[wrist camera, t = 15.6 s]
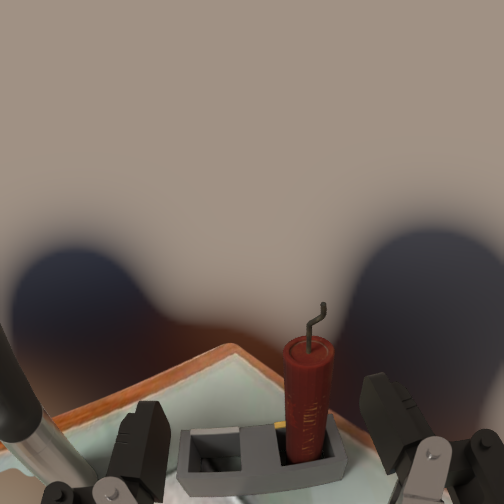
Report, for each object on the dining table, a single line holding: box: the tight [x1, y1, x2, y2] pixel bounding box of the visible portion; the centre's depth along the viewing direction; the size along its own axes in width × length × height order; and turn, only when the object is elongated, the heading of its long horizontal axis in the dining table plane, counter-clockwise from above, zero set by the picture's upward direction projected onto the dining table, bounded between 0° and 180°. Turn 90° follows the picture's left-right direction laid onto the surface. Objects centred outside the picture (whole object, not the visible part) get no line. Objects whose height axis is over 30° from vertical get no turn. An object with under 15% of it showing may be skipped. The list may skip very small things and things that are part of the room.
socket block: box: [176, 414, 348, 497], centre depth 35 cm, size 22×9×7 cm, turn 94°
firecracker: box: [283, 302, 335, 466], centre depth 31 cm, size 5×5×30 cm
